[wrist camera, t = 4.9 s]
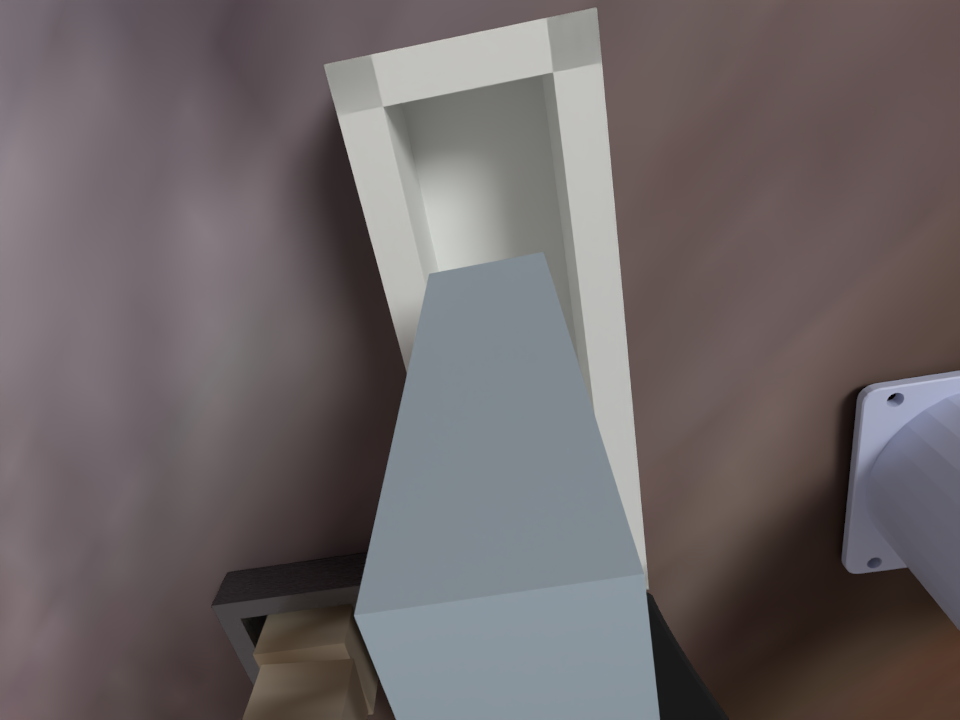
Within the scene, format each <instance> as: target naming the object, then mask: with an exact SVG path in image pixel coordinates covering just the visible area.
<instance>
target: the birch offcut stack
mask: <svg viewBox="0 0 960 720" xmlns="http://www.w3.org/2000/svg"><path fill="white" fill-rule="evenodd" d="M354 613H355V611H354V609H353V606H352V604H345V605H338V606H330V607H323V608H315V609H308V610H300V611H293V612H286V613H278V614H271V615H268V616H267V618H266V621H265V624H264V626H263V629H262V632H261V634H260V637H259V640H258V642H257V645H256V648H255V650H254V653H253V656H254V658H255V660H256V662H257V664H258V666H259V668H260V671H259V674H258V677H257V679H256V682H255V685H254V688H253V691H252V693H251V696H250V699H249V702H248V705H247V708H246V710H245V713H244V716H243V719H242V720H367V718H368V715H370V714H373V712H374V706H375V699H376V693H377V687H378V681H379V676H378V674H377V671H376V669H375V666H374V664H373V661H372V659H371V656H370V654H369V651H368V649H367V647H366V644H365V642H364V639H363V637H362V634H361V632H360V629H359V627H358V624H357V622H356V619H355V617H354Z"/></svg>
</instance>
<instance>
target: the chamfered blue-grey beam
mask: <svg viewBox="0 0 960 720" xmlns="http://www.w3.org/2000/svg"><path fill="white" fill-rule="evenodd" d="M354 617H355V619H356V622H357V624H358V627H359V629H360V632H361V634H362V637H363V639H364V642H365V644H366V647H367V649H368V651H369V654H370V656H371V659H372V661H373V664H374V666H375V669H376V671H377V674H378V676H379V679H380V681H381V684H382V686H383V689H384V691H385V693H386V696H387V698H388V701H389V703H390V706H391V708H392V711H393V713H394V716H395V718H396V720H660V715H659V706H658V697H657V688H656V678H655V669H654V660H653V651H652V642H651V632H650V623H649V614H648V605H647V595H646V586H645V577H644V572H643V569H642V565H641V562H640V559H639V556H638V552H637V549H636V546H635V543H634V540H633V536H632V533H631V530H630V527H629V524H628V520H627V517H626V514H625V511H624V508H623V504H622V501H621V498H620V495H619V492H618V488H617V485H616V482H615V479H614V476H613V472H612V469H611V466H610V463H609V460H608V456H607V453H606V450H605V447H604V444H603V440H602V437H601V434H600V431H599V428H598V424H597V421H596V418H595V415H594V412H593V408H592V405H591V402H590V399H589V396H588V392H587V389H586V386H585V383H584V379H583V376H582V373H581V370H580V367H579V363H578V360H577V357H576V354H575V351H574V347H573V344H572V341H571V338H570V335H569V331H568V328H567V325H566V322H565V319H564V315H563V312H562V309H561V306H560V303H559V299H558V296H557V293H556V290H555V287H554V283H553V280H552V277H551V274H550V271H549V267H548V264H547V261H546V258H545V255H544V252H541V253H535V254H530V255H525V256H520V257H514V258H509V259H504V260H499V261H493V262H488V263H483V264H478V265H472V266H467V267H462V268H457V269H451V270H446V271H441V272H436V273H430V274H429V277H428V281H427V286H426V290H425V295H424V300H423V304H422V309H421V313H420V318H419V322H418V327H417V331H416V336H415V340H414V345H413V350H412V354H411V359H410V363H409V368H408V372H407V377H406V381H405V386H404V391H403V395H402V400H401V404H400V409H399V413H398V418H397V422H396V427H395V431H394V436H393V441H392V445H391V450H390V454H389V459H388V463H387V468H386V472H385V477H384V481H383V486H382V491H381V495H380V500H379V504H378V509H377V513H376V518H375V522H374V527H373V531H372V536H371V541H370V545H369V550H368V554H367V559H366V563H365V568H364V572H363V577H362V582H361V586H360V591H359V595H358V600H357V604H356V609H355V613H354Z"/></svg>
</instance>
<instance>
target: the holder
mask: <svg viewBox="0 0 960 720" xmlns="http://www.w3.org/2000/svg"><path fill="white" fill-rule="evenodd" d="M324 68H325V72H326V75H327V79H328V83H329V86H330V90H331V94H332V98H333V101H334V105H335V109H336V112H337V116H338V120H339V124H340V127H341V131H342V135H343V138H344V142H345V146H346V150H347V153H348V157H349V161H350V164H351V168H352V172H353V175H354V179H355V183H356V187H357V190H358V194H359V198H360V201H361V205H362V209H363V213H364V216H365V220H366V224H367V227H368V231H369V235H370V239H371V242H372V246H373V250H374V253H375V257H376V261H377V265H378V268H379V272H380V276H381V279H382V283H383V287H384V291H385V294H386V298H387V302H388V305H389V309H390V313H391V317H392V320H393V324H394V328H395V331H396V335H397V339H398V342H399V346H400V350H401V354H402V357H403V361H404V365H405V368H406V372H408V368H409V363H410V359H411V354H412V350H413V345H414V340H415V336H416V331H417V327H418V322H419V318H420V313H421V309H422V304H423V300H424V295H425V290H426V286H427V281H428V277H429V274H430V273H436V272H441V271H446V270H451V269H457V268H462V267H467V266H472V265H478V264H483V263H488V262H493V261H499V260H504V259H509V258H514V257H520V256H525V255H530V254H535V253H541V252H544V255H545V258H546V261H547V264H548V267H549V271H550V274H551V277H552V280H553V283H554V287H555V290H556V293H557V296H558V299H559V303H560V306H561V309H562V312H563V315H564V319H565V322H566V325H567V328H568V331H569V335H570V338H571V341H572V344H573V347H574V351H575V354H576V357H577V360H578V363H579V367H580V370H581V373H582V376H583V379H584V383H585V386H586V389H587V392H588V396H589V399H590V402H591V405H592V408H593V412H594V415H595V418H596V421H597V424H598V428H599V431H600V434H601V437H602V440H603V444H604V447H605V450H606V453H607V456H608V460H609V463H610V466H611V469H612V472H613V476H614V479H615V482H616V485H617V488H618V492H619V495H620V498H621V501H622V504H623V508H624V511H625V514H626V517H627V520H628V524H629V527H630V530H631V533H632V536H633V540H634V543H635V546H636V549H637V552H638V556H639V559H640V562H641V565H642V569H643V572H644V577H645V586H646V590H647V589H649V586H648V575H647V564H646V552H645V541H644V530H643V519H642V508H641V496H640V485H639V474H638V463H637V452H636V440H635V429H634V418H633V407H632V396H631V384H630V373H629V362H628V351H627V340H626V328H625V317H624V306H623V295H622V284H621V272H620V261H619V250H618V239H617V228H616V216H615V205H614V194H613V183H612V172H611V160H610V149H609V138H608V127H607V115H606V104H605V93H604V82H603V71H602V59H601V48H600V37H599V26H598V15H597V7H596V8H592V9H587V10H582V11H577V12H573V13H568V14H563V15H558V16H554V17H549V18H544V19H539V20H534V21H530V22H525V23H520V24H515V25H511V26H506V27H501V28H496V29H492V30H487V31H482V32H477V33H473V34H468V35H463V36H458V37H453V38H449V39H444V40H439V41H434V42H430V43H425V44H420V45H415V46H411V47H406V48H401V49H396V50H392V51H387V52H382V53H377V54H372V55H368V56H363V57H358V58H353V59H349V60H344V61H339V62H334V63H330V64H325V65H324Z"/></svg>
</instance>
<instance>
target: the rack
mask: <svg viewBox="0 0 960 720" xmlns="http://www.w3.org/2000/svg"><path fill="white" fill-rule="evenodd" d="M367 554H368V553H362V554H355V555H348V556H341V557H334V558H327V559H320V560H313V561H306V562H299V563H291V564H284V565H277V566H270V567H263V568H256V569H249V570H242V571H235V572H228V573H227V574H226V576H225V578H224V580H223V583H222V585H221V587H220V589H219V591H218V593H217V595H216V597H215V599H214V601H213V603H212V605H211V607H212V608H213V610H214V612H215V614H216V616H217V618H218V620H219V622H220V624H221V625H222V627H223V629H224V631H225V633H226V635H227V637H228V639H229V641H230V643H231V644H232V646H233V648H234V650H235V652H236V654H237V656H238V658H239V660H240V662H241V663H242V665H243V667H244V669H245V671H246V673H247V675H248V677H249V679H250V681H251V682H252V684H253V686H254V685H255V682H256V679H257V677H258V674H259V671H260V668H259V666H258V664H257V662H256V660H255V658H254V656H253V653H254V650H255V648H256V645H257V642H258V640H259V637H260V634H261V632H262V629H263V626H264V624H265V621H266V618H267V616H268V615H271V614H278V613H286V612H293V611H300V610H308V609H315V608H323V607H330V606H338V605H345V604H352V606H353V609H354V611H355V609H356V604H357V600H358V595H359V591H360V586H361V582H362V577H363V572H364V568H365V563H366V559H367Z"/></svg>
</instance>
